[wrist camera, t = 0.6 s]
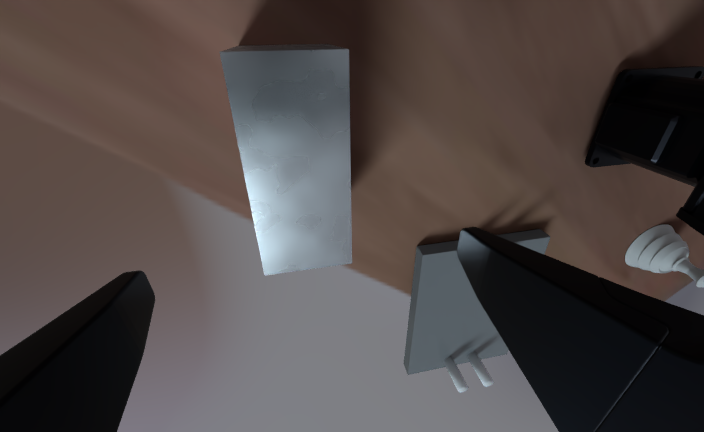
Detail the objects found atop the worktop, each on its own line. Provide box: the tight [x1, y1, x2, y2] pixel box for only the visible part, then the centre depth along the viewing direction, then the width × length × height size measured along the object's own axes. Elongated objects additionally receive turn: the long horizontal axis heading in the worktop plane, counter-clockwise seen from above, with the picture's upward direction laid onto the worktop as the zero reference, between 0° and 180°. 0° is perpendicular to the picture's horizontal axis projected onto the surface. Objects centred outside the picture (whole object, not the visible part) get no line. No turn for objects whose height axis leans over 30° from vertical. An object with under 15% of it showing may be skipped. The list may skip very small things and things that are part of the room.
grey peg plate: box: [404, 229, 550, 393], centre depth 28 cm, size 11×15×4 cm
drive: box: [220, 44, 352, 275], centre depth 16 cm, size 5×10×6 cm, turn 1°
